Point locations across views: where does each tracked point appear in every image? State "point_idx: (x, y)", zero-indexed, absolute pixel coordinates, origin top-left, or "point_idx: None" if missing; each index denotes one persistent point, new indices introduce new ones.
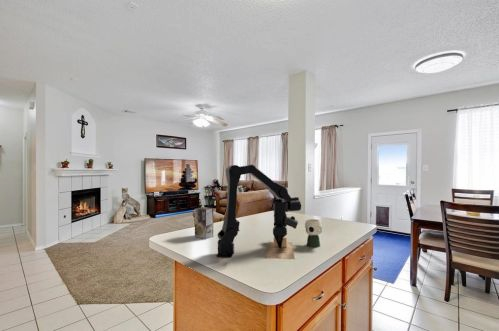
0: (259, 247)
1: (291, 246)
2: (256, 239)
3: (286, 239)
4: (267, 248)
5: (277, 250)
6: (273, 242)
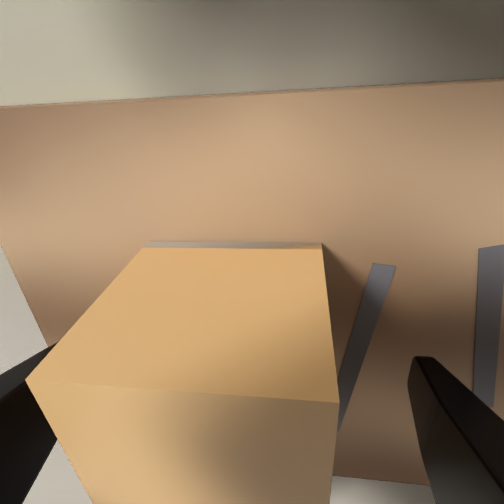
0: None
1: (226, 131)
2: (31, 495)
3: (333, 382)
4: (382, 477)
5: (493, 387)
6: None
